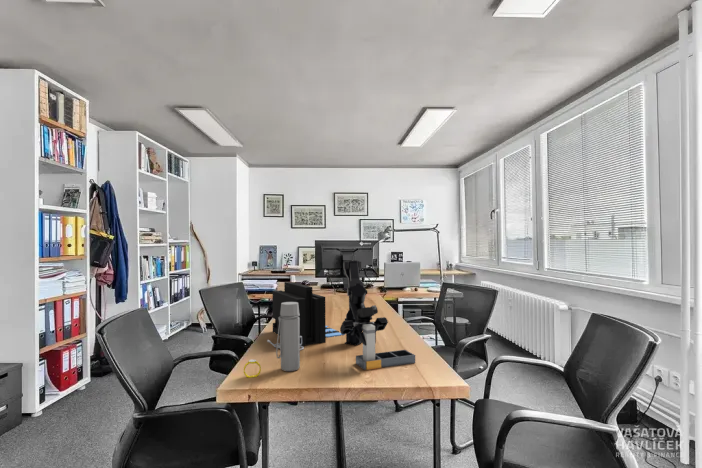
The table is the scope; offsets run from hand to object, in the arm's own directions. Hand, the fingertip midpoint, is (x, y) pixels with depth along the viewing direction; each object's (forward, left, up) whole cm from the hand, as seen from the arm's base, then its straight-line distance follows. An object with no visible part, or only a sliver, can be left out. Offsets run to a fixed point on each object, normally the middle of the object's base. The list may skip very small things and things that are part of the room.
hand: (370, 344), depth 148 cm
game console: (-48, +35, -9) cm, 60 cm away
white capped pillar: (-1, +1, -7) cm, 7 cm away
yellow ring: (-35, -27, -9) cm, 45 cm away
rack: (+4, +6, -9) cm, 11 cm away
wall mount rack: (-44, +6, -9) cm, 46 cm away
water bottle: (-28, -15, -9) cm, 33 cm away
